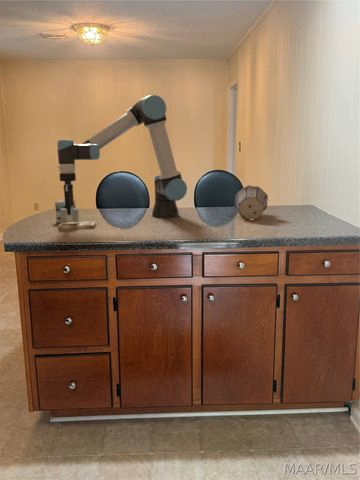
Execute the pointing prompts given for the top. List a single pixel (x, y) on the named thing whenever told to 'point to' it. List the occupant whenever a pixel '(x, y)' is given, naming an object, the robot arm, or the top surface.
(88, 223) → the board
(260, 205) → the faceted geometric planter
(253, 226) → the top surface
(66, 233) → the top surface
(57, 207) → the light bulb box
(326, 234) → the top surface
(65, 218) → the block
